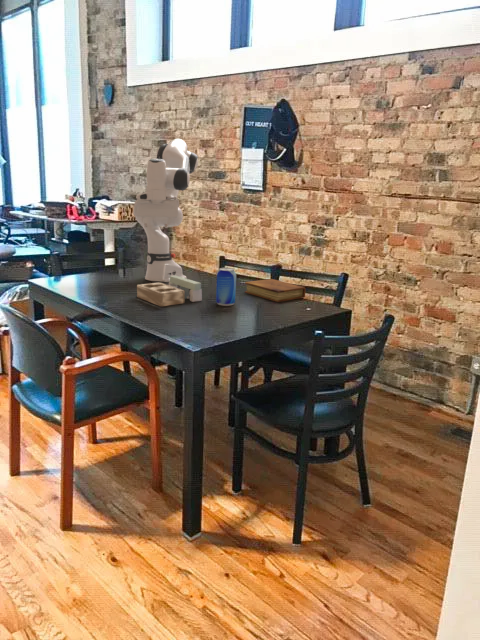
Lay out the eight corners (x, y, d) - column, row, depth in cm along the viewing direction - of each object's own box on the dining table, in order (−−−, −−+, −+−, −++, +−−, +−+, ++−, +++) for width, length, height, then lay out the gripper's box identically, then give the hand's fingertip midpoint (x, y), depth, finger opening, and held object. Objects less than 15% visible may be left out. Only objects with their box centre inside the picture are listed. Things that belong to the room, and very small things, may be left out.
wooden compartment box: (160, 295, 245) (160, 282, 244) (184, 304, 231) (184, 290, 229) (137, 297, 238) (137, 284, 236) (160, 307, 223) (161, 293, 221)
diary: (304, 298, 255) (305, 287, 253) (277, 303, 243) (278, 291, 241) (271, 289, 271) (272, 278, 270) (244, 293, 259) (245, 281, 258)
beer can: (237, 303, 235) (239, 268, 231) (231, 308, 228) (232, 271, 223) (220, 301, 238) (221, 266, 234) (213, 305, 230) (214, 269, 226)
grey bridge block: (175, 291, 250) (176, 275, 248) (200, 300, 236) (201, 283, 234) (169, 292, 248) (169, 276, 246) (194, 301, 234) (194, 283, 232)
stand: (177, 292, 251) (177, 281, 249) (201, 301, 237) (202, 289, 235) (168, 294, 248) (168, 282, 246) (192, 302, 234) (192, 290, 232)
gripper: (178, 197, 242) (177, 227, 245) (133, 194, 237) (133, 226, 240) (180, 197, 236) (179, 228, 239) (133, 195, 231) (133, 227, 234)
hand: (155, 227), depth 240 cm, fingers open, 8 cm apart
